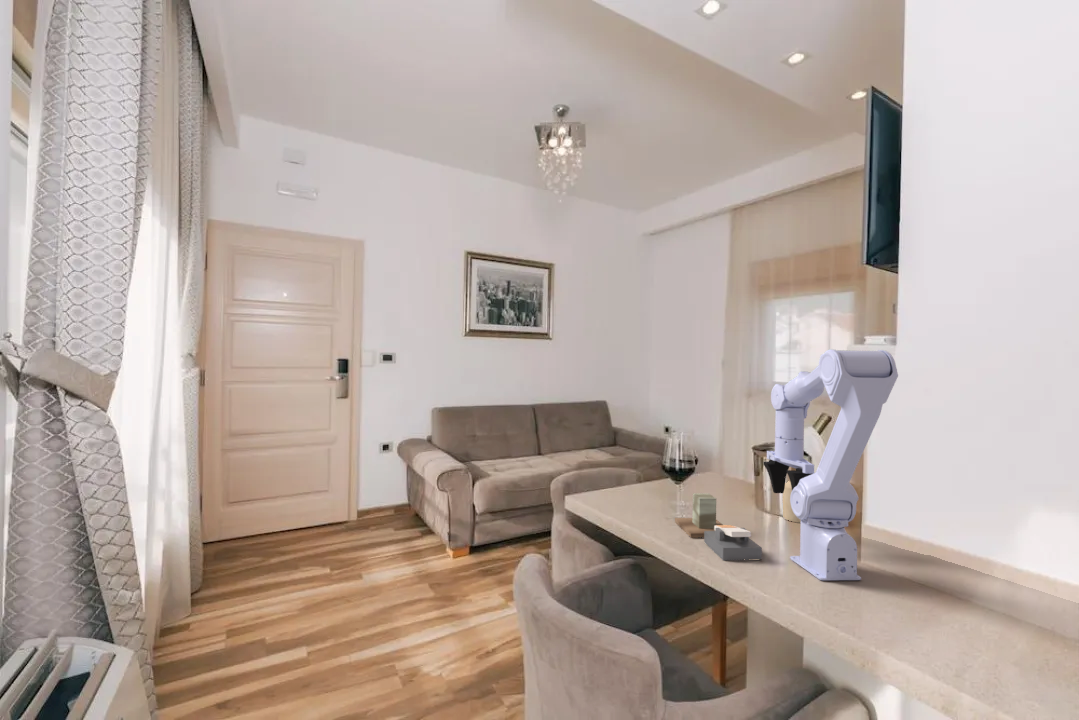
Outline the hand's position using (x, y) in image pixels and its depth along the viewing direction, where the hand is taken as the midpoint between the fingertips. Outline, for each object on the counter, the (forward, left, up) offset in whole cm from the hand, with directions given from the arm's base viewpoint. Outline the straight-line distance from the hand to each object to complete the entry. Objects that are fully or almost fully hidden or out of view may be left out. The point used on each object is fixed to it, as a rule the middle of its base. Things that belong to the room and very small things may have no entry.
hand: (788, 497), depth 102 cm
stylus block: (+6, +17, -8) cm, 20 cm away
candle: (+13, -10, -10) cm, 19 cm away
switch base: (-6, +16, -9) cm, 20 cm away
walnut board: (+6, +17, -9) cm, 20 cm away
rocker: (-6, +16, -5) cm, 18 cm away
